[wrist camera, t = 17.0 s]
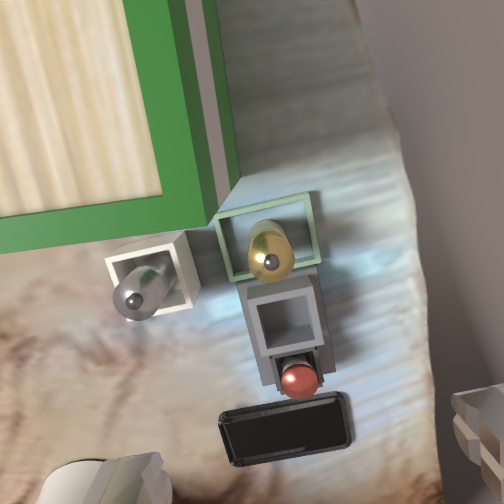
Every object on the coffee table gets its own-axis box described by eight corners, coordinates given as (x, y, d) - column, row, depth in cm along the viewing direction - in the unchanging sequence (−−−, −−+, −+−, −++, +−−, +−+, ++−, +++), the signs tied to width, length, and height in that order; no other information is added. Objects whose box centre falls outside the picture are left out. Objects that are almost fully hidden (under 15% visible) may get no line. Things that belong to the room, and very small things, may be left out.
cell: (290, 245, 33) (303, 273, 25) (258, 260, 33) (260, 293, 25) (275, 213, 32) (283, 232, 24) (242, 229, 32) (239, 253, 24)
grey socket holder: (331, 360, 37) (343, 390, 32) (262, 374, 37) (263, 406, 32) (312, 261, 33) (323, 278, 29) (237, 277, 34) (234, 297, 29)
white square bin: (201, 286, 34) (192, 307, 29) (145, 299, 35) (127, 321, 30) (184, 230, 32) (173, 242, 28) (125, 243, 33) (104, 258, 28)
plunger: (314, 373, 34) (321, 395, 31) (282, 380, 34) (286, 402, 31) (308, 345, 33) (315, 365, 30) (276, 352, 33) (278, 372, 30)
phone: (215, 417, 38) (343, 394, 37) (216, 410, 39) (341, 387, 38) (231, 469, 40) (353, 448, 39) (232, 461, 41) (350, 440, 40)
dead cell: (185, 279, 33) (162, 319, 25) (151, 287, 34) (118, 328, 25) (174, 246, 32) (148, 276, 24) (140, 254, 33) (102, 286, 24)
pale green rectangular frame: (319, 258, 33) (321, 262, 32) (230, 278, 34) (229, 282, 33) (306, 191, 31) (309, 192, 30) (213, 213, 32) (211, 215, 31)
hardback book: (120, -29, 27) (-735, -1251, 4) (209, -44, 26) (-94, -1474, 3) (164, 187, 31) (-79, 264, 8) (240, 177, 31) (207, 226, 8)
